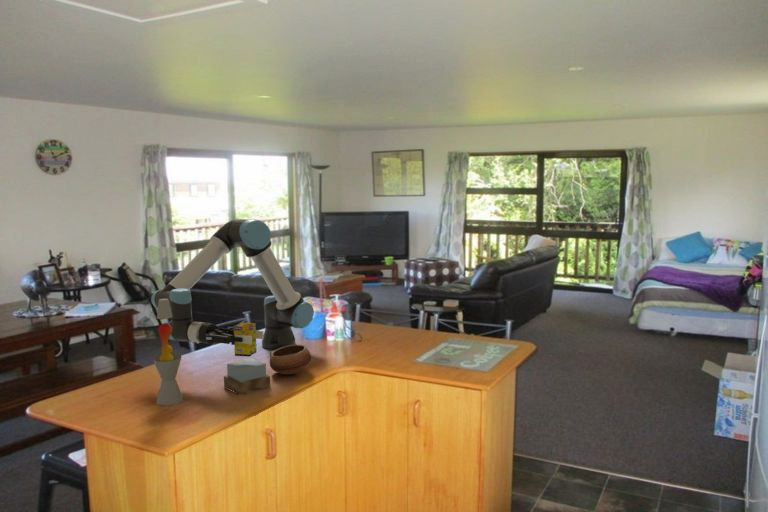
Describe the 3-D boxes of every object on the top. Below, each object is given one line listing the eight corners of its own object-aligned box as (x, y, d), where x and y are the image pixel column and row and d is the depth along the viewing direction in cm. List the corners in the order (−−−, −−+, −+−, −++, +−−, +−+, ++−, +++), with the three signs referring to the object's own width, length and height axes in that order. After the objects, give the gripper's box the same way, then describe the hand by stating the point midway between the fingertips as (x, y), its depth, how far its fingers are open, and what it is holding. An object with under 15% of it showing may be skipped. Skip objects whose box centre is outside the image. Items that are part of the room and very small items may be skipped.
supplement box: (250, 356, 207) (248, 326, 206) (234, 356, 208) (233, 325, 207) (257, 352, 213) (255, 322, 212) (241, 351, 214) (240, 322, 213)
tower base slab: (254, 380, 221) (253, 368, 220) (270, 388, 212) (269, 376, 211) (224, 388, 213) (223, 376, 212) (240, 396, 204) (239, 384, 203)
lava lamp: (183, 403, 197) (177, 300, 193) (154, 406, 194) (147, 302, 190) (184, 394, 205) (178, 295, 201) (157, 397, 203) (150, 297, 199)
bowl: (266, 370, 231) (265, 345, 230) (305, 364, 238) (304, 340, 236) (275, 381, 217) (274, 355, 216) (316, 375, 223) (315, 350, 222)
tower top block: (252, 369, 219) (251, 358, 218) (266, 376, 211) (265, 363, 211) (227, 375, 212) (227, 363, 212) (240, 382, 205) (240, 369, 204)
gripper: (220, 336, 226) (272, 341, 218) (186, 349, 208) (241, 355, 199) (219, 317, 225) (271, 321, 217) (185, 328, 207) (240, 333, 199)
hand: (257, 337), depth 208 cm, fingers closed on supplement box, 6 cm apart
